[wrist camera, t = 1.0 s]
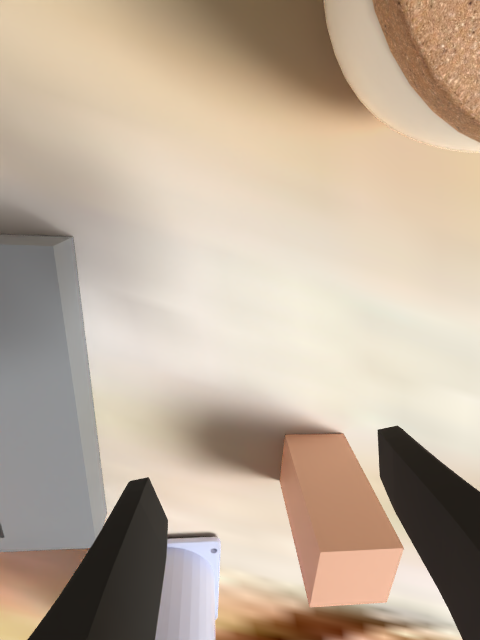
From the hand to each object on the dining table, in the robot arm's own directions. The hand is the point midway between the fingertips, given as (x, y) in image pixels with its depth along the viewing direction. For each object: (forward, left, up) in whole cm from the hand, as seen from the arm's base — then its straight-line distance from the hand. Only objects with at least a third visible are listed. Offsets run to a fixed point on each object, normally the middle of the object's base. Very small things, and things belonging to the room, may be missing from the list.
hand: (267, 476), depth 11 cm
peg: (-9, -5, -10) cm, 15 cm away
